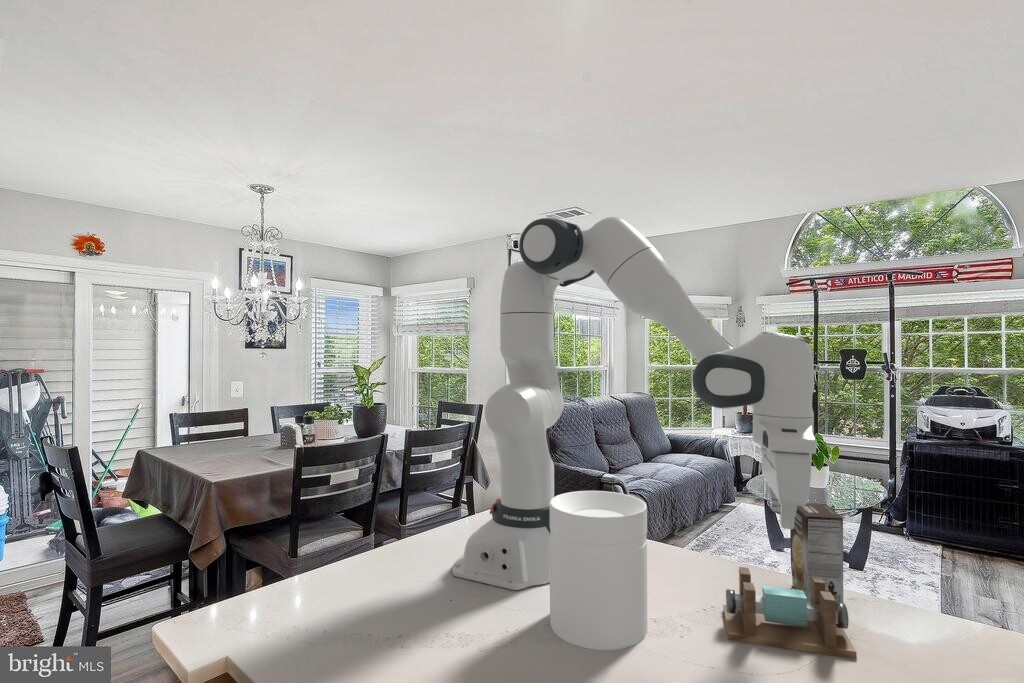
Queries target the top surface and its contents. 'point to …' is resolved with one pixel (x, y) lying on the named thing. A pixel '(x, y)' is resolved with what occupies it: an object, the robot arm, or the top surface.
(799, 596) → the bar
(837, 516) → the coffee box
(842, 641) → the rack
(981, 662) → the top surface
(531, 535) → the robot arm
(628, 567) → the canister
